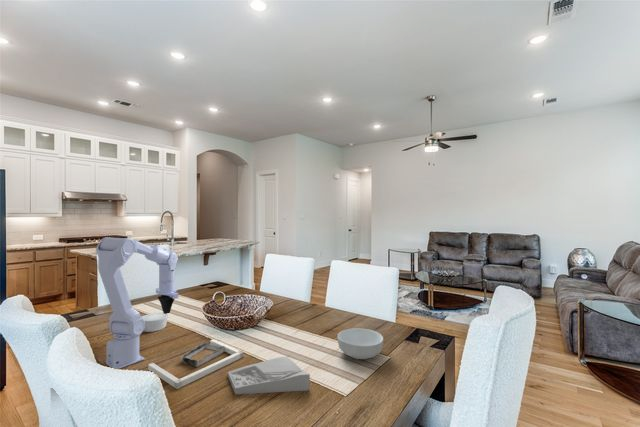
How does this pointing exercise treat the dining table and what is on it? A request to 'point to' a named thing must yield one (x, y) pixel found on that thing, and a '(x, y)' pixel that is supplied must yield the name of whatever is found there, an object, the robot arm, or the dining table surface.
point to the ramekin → (155, 321)
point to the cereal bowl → (360, 343)
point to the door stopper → (269, 377)
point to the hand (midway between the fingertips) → (166, 313)
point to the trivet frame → (202, 372)
